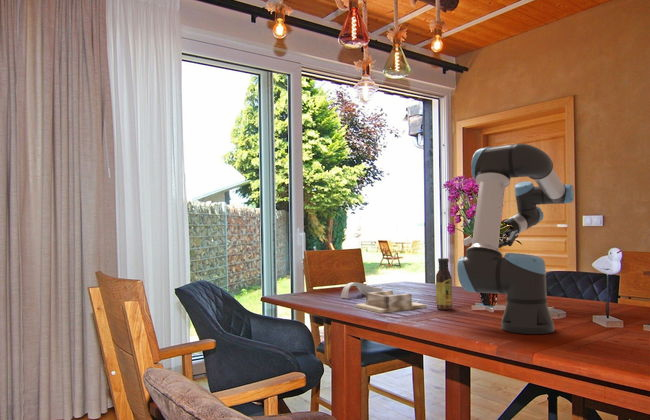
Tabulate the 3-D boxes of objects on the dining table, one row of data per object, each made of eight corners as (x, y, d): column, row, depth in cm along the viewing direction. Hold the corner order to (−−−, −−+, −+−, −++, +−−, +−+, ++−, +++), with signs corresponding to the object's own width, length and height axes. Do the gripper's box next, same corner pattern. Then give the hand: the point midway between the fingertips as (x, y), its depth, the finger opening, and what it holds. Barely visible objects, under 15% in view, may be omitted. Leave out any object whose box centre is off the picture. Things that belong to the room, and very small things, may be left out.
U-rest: (380, 313, 188) (380, 298, 188) (355, 307, 204) (355, 293, 204) (425, 307, 198) (425, 293, 198) (398, 302, 214) (398, 288, 214)
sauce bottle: (448, 310, 190) (447, 259, 190) (433, 309, 193) (432, 258, 194) (455, 308, 195) (453, 257, 196) (440, 307, 199) (439, 257, 199)
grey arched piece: (370, 292, 249) (369, 278, 249) (387, 294, 240) (387, 279, 240) (335, 298, 233) (335, 282, 233) (353, 300, 224) (353, 284, 224)
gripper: (539, 240, 196) (503, 261, 187) (491, 229, 218) (456, 248, 209) (537, 222, 194) (500, 243, 185) (488, 214, 216) (453, 232, 207)
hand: (476, 245), depth 197 cm, fingers open, 13 cm apart
